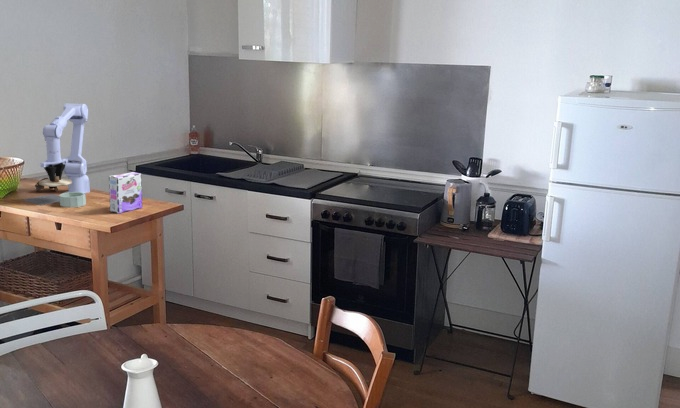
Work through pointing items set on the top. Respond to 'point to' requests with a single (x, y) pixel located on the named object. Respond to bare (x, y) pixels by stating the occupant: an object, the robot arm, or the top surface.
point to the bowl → (72, 199)
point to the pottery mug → (39, 187)
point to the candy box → (125, 192)
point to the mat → (43, 199)
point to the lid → (55, 182)
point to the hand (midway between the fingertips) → (55, 180)
